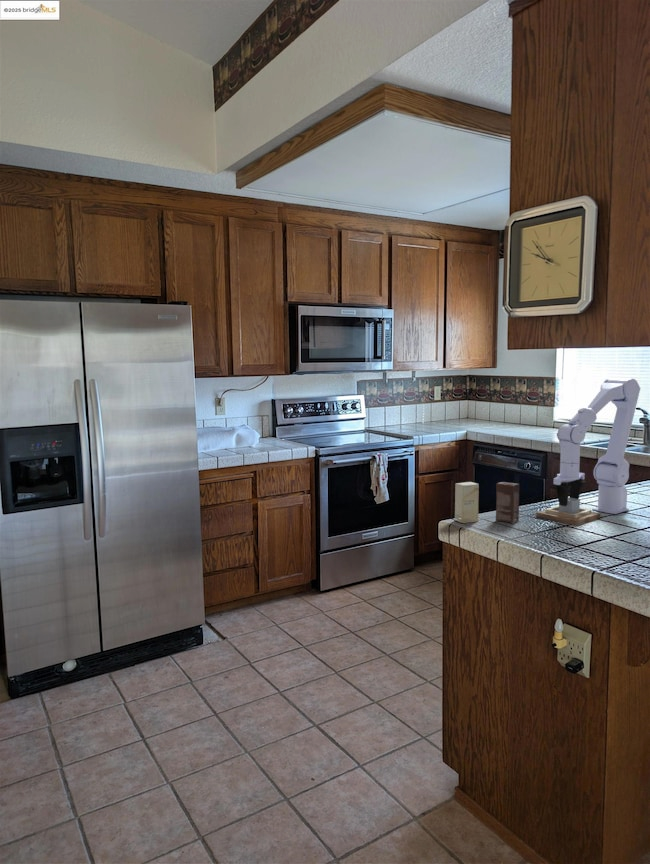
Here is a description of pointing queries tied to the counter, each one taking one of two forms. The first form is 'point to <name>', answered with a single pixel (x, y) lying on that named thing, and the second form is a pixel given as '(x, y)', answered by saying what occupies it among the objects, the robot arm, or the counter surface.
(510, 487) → the box
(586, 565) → the counter surface
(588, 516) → the base board
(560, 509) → the block
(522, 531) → the counter surface
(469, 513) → the skincare box
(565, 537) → the counter surface
